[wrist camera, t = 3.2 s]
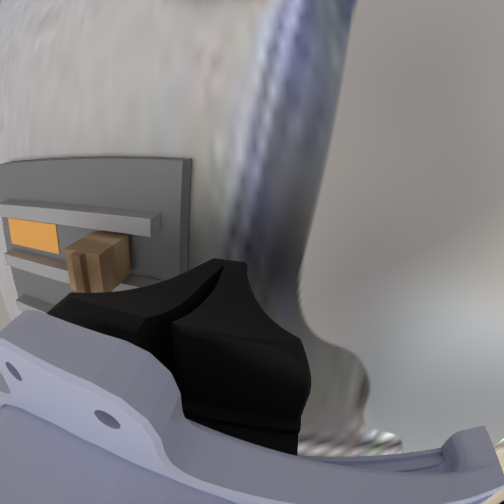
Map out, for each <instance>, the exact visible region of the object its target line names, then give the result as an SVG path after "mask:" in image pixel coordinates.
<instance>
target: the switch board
mask: <svg viewBox="0 0 504 504" xmlns="http://www.w3.org/2000/svg"><path fill="white" fill-rule="evenodd" d="M191 165H192V159H185V158H164V157H71V158H52V159H37V160H25V161H14V162H8V163H3V164H0V216H1V217H2V221H3V228H4V234H5V240H6V246H7V251H8V252H6V253H4V255H5V260H6V265H9V266H11V270H12V274H13V278H14V282H15V286H16V290H17V293H18V297H19V298H18V299H17V300H16V303H17V306H18V309H19V310H20V311H23V312H24V311H25V310H38V311H41V312H43V313H47V312H48V311H49V310H51V309H52V308H53V307H54V306H55V305H56V304H57V303H59V302H60V301H61V300H62V299H63V298H64V297H66V296H67V295H68V294H69V293H70V292H76V293H77V291H76V290H73V289H71V286H70V281H69V275H68V270H67V264H66V257H65V250H64V248H66V247H67V246H69V245H71V244H73V243H74V242H76V241H78V240H79V239H81V238H83V237H85V236H86V235H88V234H90V233H92V232H94V231H102V232H110V233H117V234H124V235H128V240H129V256H130V269H131V274H130V275H129V276H128V277H127V278H126V279H124V280H123V281H122V282H121V283H120V284H119V285H118V286H117V287H116V288H115V289H114V290H113V291H112V292H115V291H123V290H129V289H134V288H139V287H144V286H149V285H152V284H156V283H159V282H162V281H165V280H168V279H171V278H173V277H175V276H178V275H180V274H182V273H185V272H187V271H188V231H189V202H190V182H191Z"/></svg>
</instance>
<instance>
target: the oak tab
mask: <svg viewBox="0 0 504 504" xmlns="http://www.w3.org/2000/svg"><path fill="white" fill-rule="evenodd" d="M64 250H65V257H66V264H67V270H68V275H69V281H70V286H71V289H73V290H76V291H77V293H102V292H112V291H113V290H114V289H115V288H116V287H117V286H118V285H119V284H120V283H121V282H122V281H123V280H124V279H126V278H127V277H128V276H129V275H130V274H131V269H130V256H129V240H128V235H124V234H117V233H110V232H102V231H94V232H92V233H90V234H88V235H86V236H85V237H83V238H81V239H79V240H78V241H76V242H74V243H73V244H71V245H69V246H67V247H66V248H64Z"/></svg>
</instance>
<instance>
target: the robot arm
mask: <svg viewBox="0 0 504 504" xmlns="http://www.w3.org/2000/svg"><path fill="white" fill-rule="evenodd" d="M310 389H311V374H310V369H309V364H308V360H307V357H306V353H305V350H304V347H303V344H302V342H301V340H300V339H299V338H298V337H296V336H294V335H293V334H291V333H289V332H288V331H286V330H284V329H283V328H281V327H280V326H279V325H278V324H276V323H275V322H274V321H273V320H272V319H271V318H270V317H269V316H268V315H267V314H266V313H265V312H264V311H263V309H262V308H261V307H260V305H259V303H258V302H257V300H256V298H255V296H254V294H253V292H252V290H251V287H250V285H249V281H248V278H247V265H246V263H244V262H237V261H230V260H223V259H216V258H215V259H212V260H209V261H207V262H205V263H203V264H201V265H199V266H197V267H195V268H193V269H191V270H189V271H187V272H185V273H182V274H180V275H178V276H175V277H173V278H171V279H168V280H165V281H162V282H159V283H156V284H152V285H149V286H144V287H139V288H134V289H129V290H123V291H115V292H102V293H76V292H70V293H69V294H68V295H67V296H66V297H64V298H63V299H62V300H61V301H60V302H59V303H57V304H56V305H55V306H54V307H53V308H52V309H51V310H49V311H48V312H47V313H43V312H41V311H38V310H25V311H24V312H23V313H21V314H20V315H19V316H18V317H17V318H15V319H14V320H13V321H12V322H11V323H9V324H8V325H7V326H6V327H5V328H4V329H2V330H1V331H0V504H482V503H484V502H485V501H487V500H488V499H489V498H491V497H492V496H494V495H495V494H496V493H498V492H499V491H500V490H502V489H503V488H504V474H503V471H502V468H501V465H500V463H499V460H498V457H497V455H496V452H495V449H494V447H493V444H492V442H491V439H490V437H489V435H488V432H487V430H486V428H485V426H481V427H476V428H472V429H467V430H462V431H460V432H457V433H455V434H454V435H452V436H451V437H450V438H449V439H448V440H447V441H446V442H445V443H444V445H443V446H442V447H441V448H437V449H431V450H425V451H418V452H411V453H402V454H392V455H380V456H361V457H316V456H297V450H298V433H299V431H300V427H301V415H302V412H303V410H304V407H305V405H306V402H307V399H308V397H309V394H310Z"/></svg>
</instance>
